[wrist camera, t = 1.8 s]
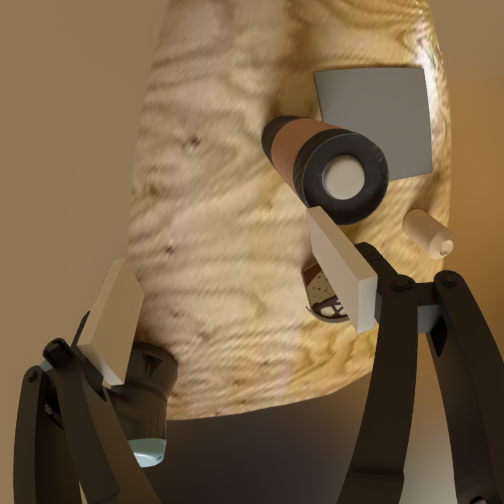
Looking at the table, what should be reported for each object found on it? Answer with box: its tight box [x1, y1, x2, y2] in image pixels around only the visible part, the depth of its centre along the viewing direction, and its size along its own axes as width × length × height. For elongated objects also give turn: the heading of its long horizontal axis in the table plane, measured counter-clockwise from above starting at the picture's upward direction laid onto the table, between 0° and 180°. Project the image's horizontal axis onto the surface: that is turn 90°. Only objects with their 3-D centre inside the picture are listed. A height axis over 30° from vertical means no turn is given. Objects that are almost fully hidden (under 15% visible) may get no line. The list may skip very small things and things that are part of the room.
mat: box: [313, 68, 432, 181], centre depth 37 cm, size 19×18×1 cm
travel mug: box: [262, 116, 389, 226], centre depth 29 cm, size 8×8×20 cm
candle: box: [403, 208, 453, 260], centre depth 43 cm, size 6×6×10 cm
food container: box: [301, 262, 350, 323], centre depth 45 cm, size 12×6×10 cm, turn 123°
